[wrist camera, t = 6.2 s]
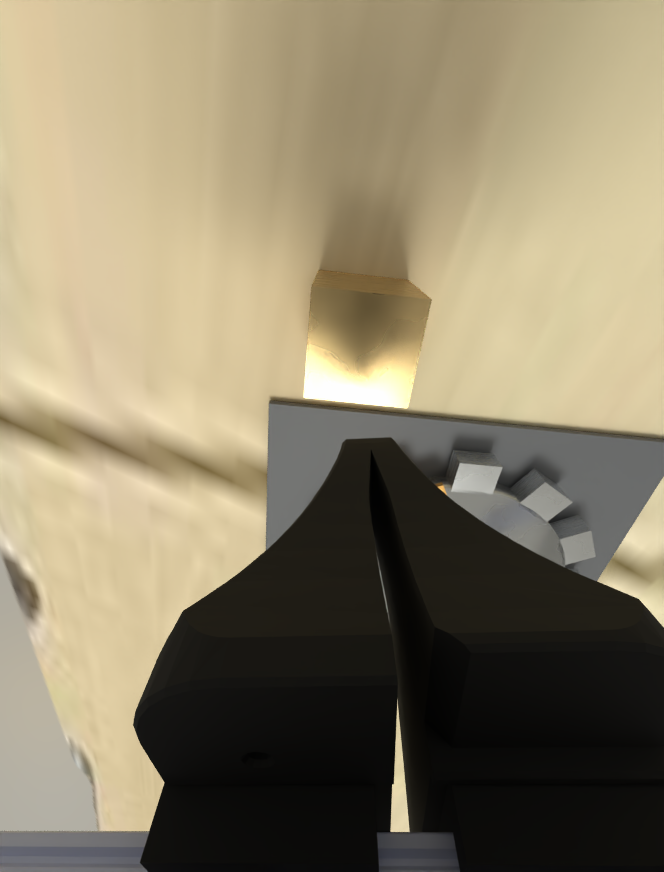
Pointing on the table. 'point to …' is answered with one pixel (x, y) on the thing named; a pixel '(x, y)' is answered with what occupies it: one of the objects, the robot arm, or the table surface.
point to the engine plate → (437, 438)
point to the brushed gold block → (364, 338)
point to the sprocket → (516, 507)
